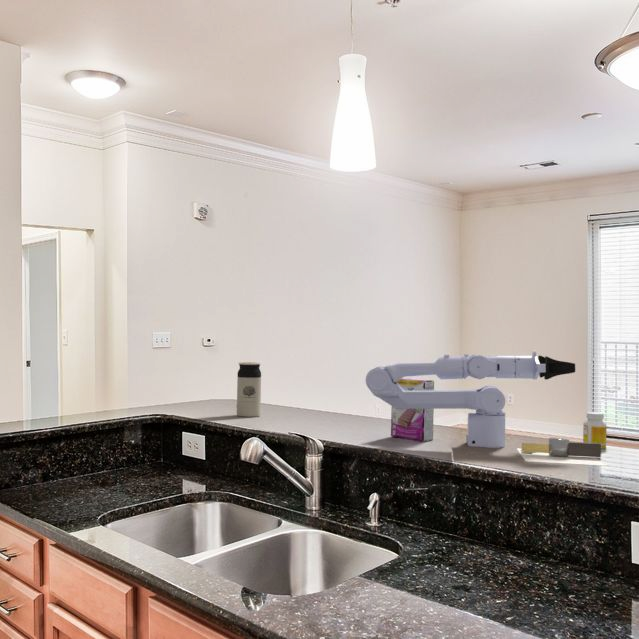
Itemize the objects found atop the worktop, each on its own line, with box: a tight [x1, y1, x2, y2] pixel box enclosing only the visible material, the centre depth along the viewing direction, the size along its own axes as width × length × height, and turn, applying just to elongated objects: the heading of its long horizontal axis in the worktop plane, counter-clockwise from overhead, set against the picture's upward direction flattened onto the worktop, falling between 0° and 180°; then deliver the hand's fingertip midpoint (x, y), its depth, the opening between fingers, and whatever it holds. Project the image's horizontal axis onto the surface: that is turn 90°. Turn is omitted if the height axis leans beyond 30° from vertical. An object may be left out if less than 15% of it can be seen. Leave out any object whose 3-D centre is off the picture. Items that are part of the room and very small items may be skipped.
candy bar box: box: [390, 377, 435, 442], centre depth 177 cm, size 11×5×16 cm, turn 47°
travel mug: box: [236, 361, 262, 418], centre depth 219 cm, size 8×8×18 cm
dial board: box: [515, 447, 609, 467], centre depth 149 cm, size 17×17×1 cm
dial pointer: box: [521, 437, 602, 458], centre depth 149 cm, size 17×4×4 cm, turn 80°
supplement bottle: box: [582, 411, 607, 450], centre depth 163 cm, size 5×5×10 cm
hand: (571, 367), depth 160 cm, fingers open, 7 cm apart
